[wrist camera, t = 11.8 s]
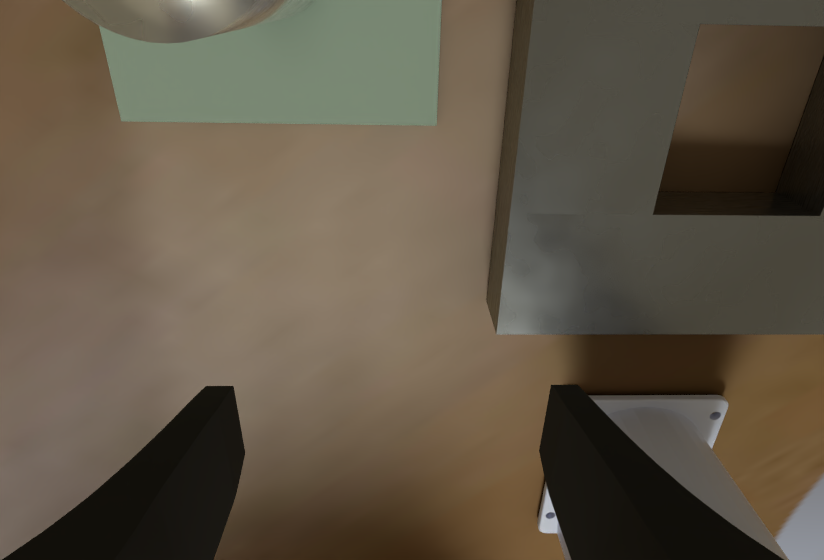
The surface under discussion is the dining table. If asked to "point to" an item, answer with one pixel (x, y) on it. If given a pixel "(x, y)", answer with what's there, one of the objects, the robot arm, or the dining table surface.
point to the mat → (290, 69)
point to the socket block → (642, 184)
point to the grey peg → (183, 16)
